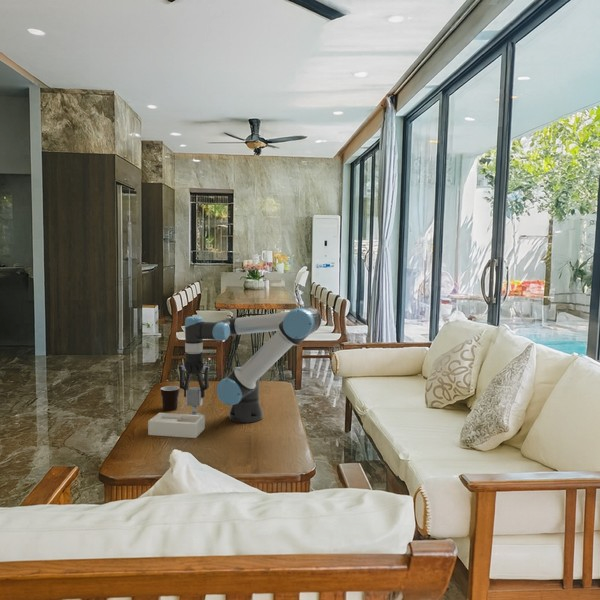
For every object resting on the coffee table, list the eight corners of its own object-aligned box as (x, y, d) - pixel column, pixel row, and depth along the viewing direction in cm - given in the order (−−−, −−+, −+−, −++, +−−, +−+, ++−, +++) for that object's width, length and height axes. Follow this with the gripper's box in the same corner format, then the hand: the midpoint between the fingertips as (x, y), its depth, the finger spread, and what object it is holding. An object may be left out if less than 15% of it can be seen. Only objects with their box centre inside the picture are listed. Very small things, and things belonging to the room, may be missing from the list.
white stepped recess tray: (204, 428, 235) (204, 415, 235) (195, 438, 223) (195, 424, 223) (159, 425, 238) (159, 412, 237) (148, 434, 226) (148, 421, 225)
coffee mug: (174, 412, 257) (174, 391, 257) (157, 410, 259) (157, 389, 258) (184, 405, 269) (184, 385, 268) (168, 404, 270) (168, 384, 270)
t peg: (204, 417, 247) (204, 386, 246) (199, 422, 240) (199, 390, 239) (189, 416, 248) (189, 386, 246) (184, 421, 241) (183, 390, 240)
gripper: (216, 351, 244) (216, 403, 246) (177, 349, 246) (177, 401, 248) (211, 354, 236) (211, 408, 238) (170, 352, 239) (171, 406, 241)
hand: (194, 404), depth 243 cm, fingers closed on t peg, 5 cm apart
